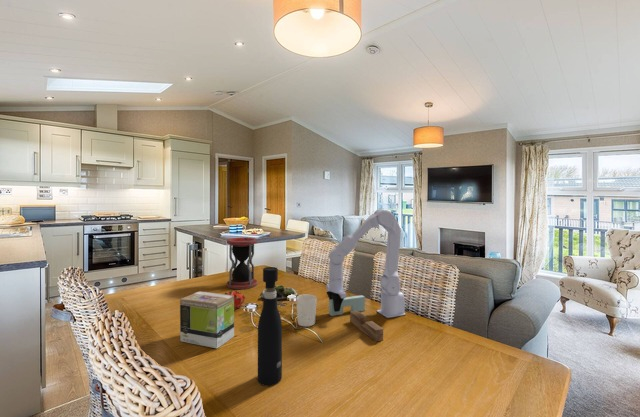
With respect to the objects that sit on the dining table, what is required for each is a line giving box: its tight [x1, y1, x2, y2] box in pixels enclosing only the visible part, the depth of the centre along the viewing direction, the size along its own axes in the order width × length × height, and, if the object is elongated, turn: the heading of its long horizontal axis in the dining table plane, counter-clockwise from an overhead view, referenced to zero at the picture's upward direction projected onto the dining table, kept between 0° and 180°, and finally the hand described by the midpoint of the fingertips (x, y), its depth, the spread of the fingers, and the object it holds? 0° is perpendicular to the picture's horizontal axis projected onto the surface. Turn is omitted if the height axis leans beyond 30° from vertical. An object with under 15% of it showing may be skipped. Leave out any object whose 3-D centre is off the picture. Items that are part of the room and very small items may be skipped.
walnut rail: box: [349, 310, 384, 343], centre depth 113 cm, size 3×18×4 cm, turn 23°
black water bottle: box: [257, 266, 283, 387], centre depth 82 cm, size 6×6×30 cm
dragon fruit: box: [224, 289, 246, 311], centre depth 133 cm, size 8×8×12 cm
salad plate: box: [260, 284, 298, 302], centre depth 153 cm, size 19×18×5 cm
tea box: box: [179, 290, 235, 349], centre depth 105 cm, size 15×10×15 cm, turn 71°
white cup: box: [296, 293, 318, 327], centre depth 119 cm, size 8×8×10 cm
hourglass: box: [226, 237, 258, 290], centre depth 167 cm, size 16×16×25 cm
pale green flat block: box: [328, 294, 366, 317], centre depth 131 cm, size 16×2×6 cm, turn 113°
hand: (335, 309), depth 128 cm, fingers closed on pale green flat block, 2 cm apart
